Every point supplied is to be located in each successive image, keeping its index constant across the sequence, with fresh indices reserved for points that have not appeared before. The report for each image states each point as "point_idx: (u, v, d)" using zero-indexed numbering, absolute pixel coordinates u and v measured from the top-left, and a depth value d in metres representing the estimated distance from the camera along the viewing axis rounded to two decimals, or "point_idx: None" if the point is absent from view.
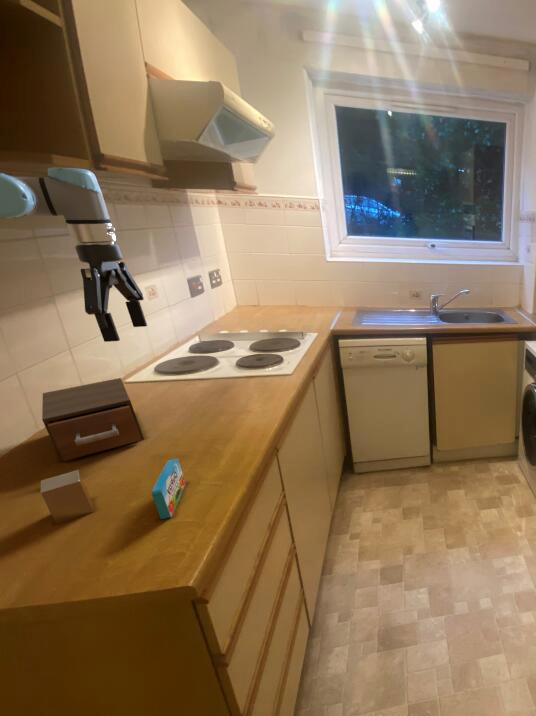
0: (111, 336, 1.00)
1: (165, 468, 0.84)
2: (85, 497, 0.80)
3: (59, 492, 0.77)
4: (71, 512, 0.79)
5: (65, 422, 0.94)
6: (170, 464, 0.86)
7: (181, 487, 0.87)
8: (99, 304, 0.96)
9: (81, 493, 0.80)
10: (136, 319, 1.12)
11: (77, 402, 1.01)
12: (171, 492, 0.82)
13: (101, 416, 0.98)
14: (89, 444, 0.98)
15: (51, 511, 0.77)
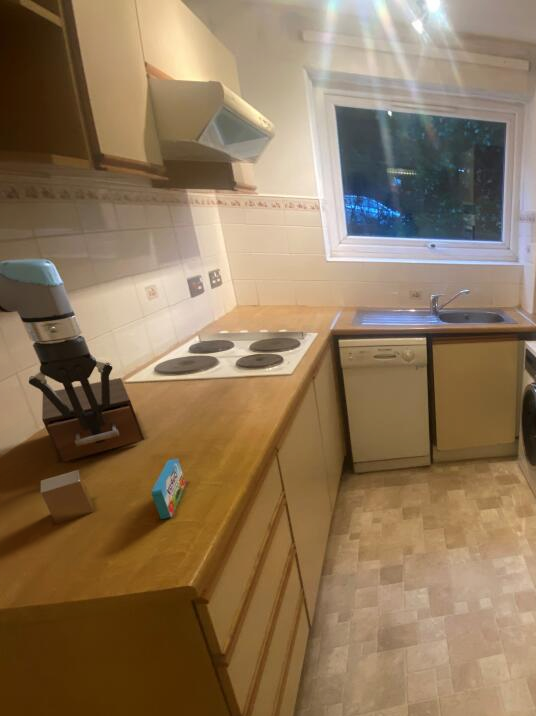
0: None
1: (165, 468, 0.84)
2: (85, 497, 0.80)
3: (59, 492, 0.77)
4: (71, 512, 0.79)
5: (65, 423, 0.94)
6: (170, 464, 0.86)
7: (181, 487, 0.87)
8: (63, 410, 0.90)
9: (81, 493, 0.80)
10: None
11: None
12: (171, 492, 0.82)
13: None
14: (89, 445, 0.98)
15: (51, 511, 0.77)
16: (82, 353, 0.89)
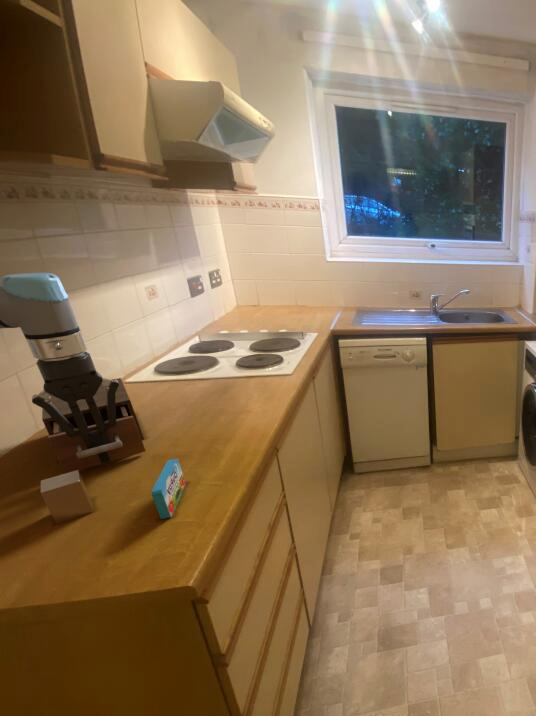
0: (99, 456, 0.92)
1: (165, 468, 0.84)
2: (85, 497, 0.80)
3: (59, 492, 0.77)
4: (71, 512, 0.79)
5: (66, 434, 0.89)
6: (170, 464, 0.86)
7: (181, 487, 0.87)
8: (67, 429, 0.86)
9: (81, 493, 0.80)
10: None
11: (77, 402, 1.01)
12: (171, 492, 0.82)
13: None
14: (91, 456, 0.93)
15: (51, 511, 0.77)
16: (88, 370, 0.85)
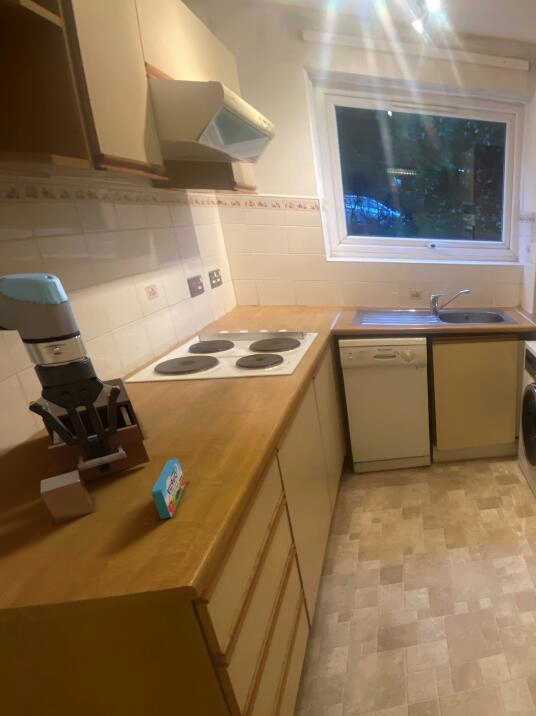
0: None
1: (165, 468, 0.84)
2: (85, 497, 0.80)
3: (59, 492, 0.77)
4: (71, 512, 0.79)
5: None
6: (170, 464, 0.86)
7: (181, 487, 0.87)
8: (66, 438, 0.82)
9: (81, 493, 0.80)
10: None
11: None
12: (171, 492, 0.82)
13: None
14: (93, 467, 0.89)
15: (51, 511, 0.77)
16: (88, 376, 0.81)
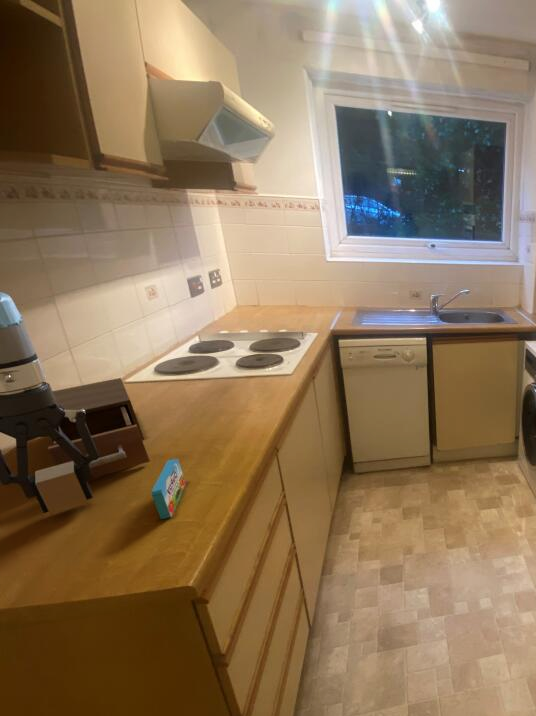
0: None
1: (165, 468, 0.84)
2: (80, 488, 0.79)
3: (54, 483, 0.77)
4: (66, 503, 0.79)
5: None
6: (170, 464, 0.86)
7: (181, 487, 0.87)
8: (3, 476, 0.73)
9: (76, 484, 0.79)
10: None
11: (77, 402, 1.01)
12: (171, 492, 0.82)
13: (106, 437, 0.89)
14: (93, 467, 0.89)
15: (45, 502, 0.77)
16: (46, 404, 0.73)
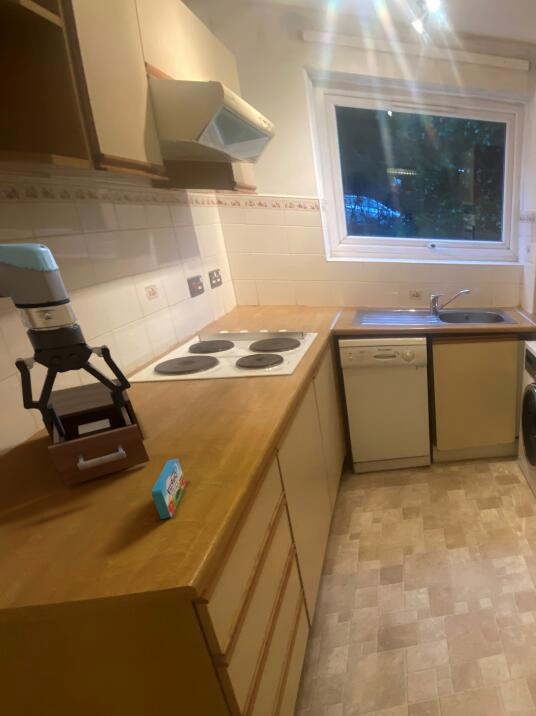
0: (57, 430, 0.90)
1: (165, 468, 0.84)
2: None
3: None
4: None
5: (67, 444, 0.86)
6: (170, 464, 0.86)
7: (181, 487, 0.87)
8: (27, 400, 0.85)
9: None
10: None
11: (77, 402, 1.01)
12: (171, 492, 0.82)
13: (106, 436, 0.90)
14: (93, 467, 0.89)
15: None
16: (77, 341, 0.86)
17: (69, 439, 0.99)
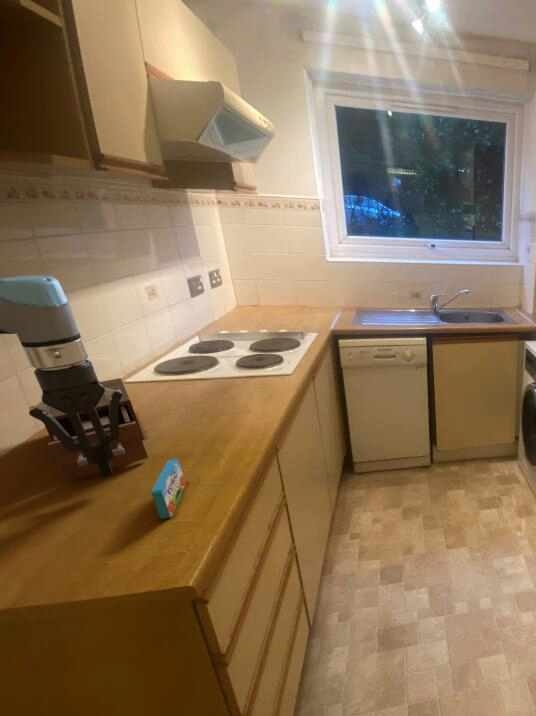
0: None
1: (165, 468, 0.84)
2: None
3: None
4: None
5: None
6: (170, 464, 0.86)
7: (181, 487, 0.87)
8: (67, 443, 0.81)
9: None
10: None
11: None
12: (171, 492, 0.82)
13: None
14: None
15: None
16: (89, 380, 0.79)
17: None
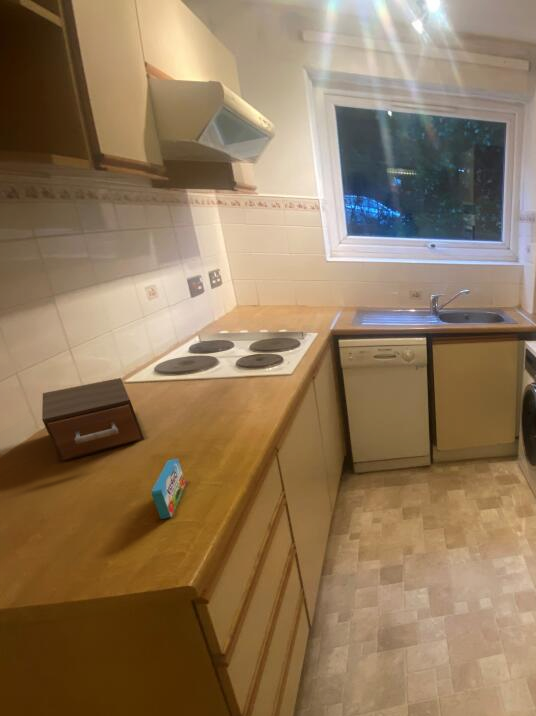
0: None
1: (165, 468, 0.84)
2: None
3: None
4: None
5: (65, 420, 0.95)
6: (170, 464, 0.86)
7: (181, 487, 0.87)
8: None
9: None
10: None
11: (77, 402, 1.01)
12: (171, 492, 0.82)
13: (101, 415, 0.99)
14: (89, 442, 0.99)
15: None
16: None
17: None
